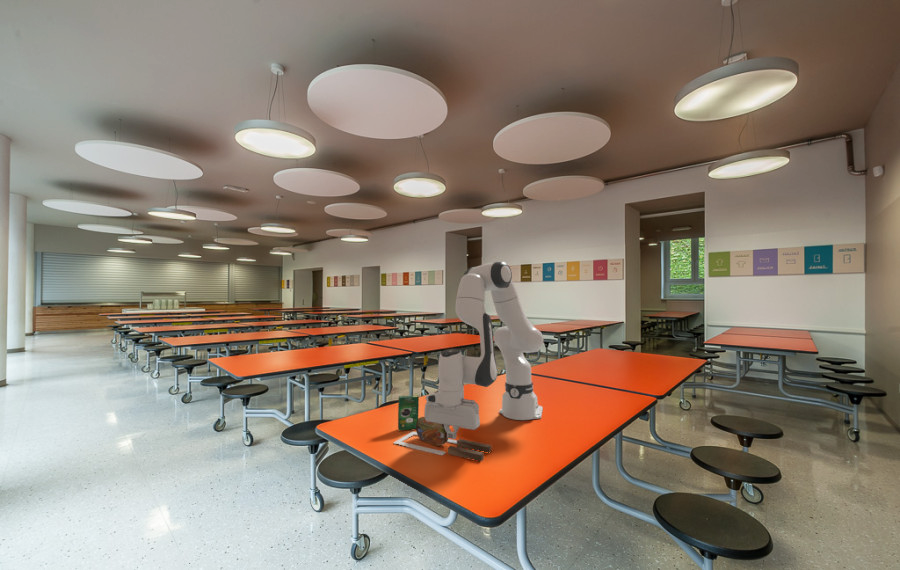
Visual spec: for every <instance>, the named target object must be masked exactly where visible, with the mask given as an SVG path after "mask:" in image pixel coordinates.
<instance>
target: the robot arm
mask: <svg viewBox="0 0 900 570" xmlns="http://www.w3.org/2000/svg"><path fill="white" fill-rule="evenodd" d="M512 276H513V275H512V269H511V267H510V266H509V265H508V264H507V263H506V262H505V261H494V262H489V263H482V264H480V265H478V266H473V267H469V268H468V269H467V270H465V272H464V273H463V276H462V277H461V279H460V282H459V285H458V288H457V293H456V294H457V295H456V299H455V314H456V316H457V318H458V319H459V320H460V321H461V322H463V323H465V324H467V325H469V326H471V327H473V328H475V329H476V330H477V331H478V333H479V341H480V356H478V357H477V356H468V355H463V354H462V351H461V350H460V349H458V348H449V349H445V350H443V351H441V352H440V353H439V358H438V363H437V364H438V366H437V377H438V381H439V384H438V390H437V391H434V392H431V393H429V394H428V395H426V396H425V400H426V401H425V402H426V403H425V404H424V416H423V417H425V420H426V421H427V422H433V423H438V424H444V429H445V431H446V432H447V438H448V439H451V440H456V439H457V432H458V431H459V429H460V428H461V429H465V430H466V429H467V430H472V431H475V430H476V429H478V428H479V427H480V424H481V421H480V420H481V419H480V414H479V413H480V406H479V404H478V402H476V400H474V399H467V398H465V388H464V384H469V385H476V386H479V387H480V386H481V387H485V388H488V387H489V386H491V385H493V383H494V382H496V381H497V377H498V367H497V362H496V355H495V353H496V352H495V345H496V346H497V347H498V349H499V351H500V352H501V355H502V358H503V361H504V367H505V382H504V383H505V384H504V391H505V392H504V393H503V394H502V398H501V400H502V402H501V408H500V409H499V410H498V413H499V414H502V415H503V417H505V418H507V419H510V420H516V421H529V420H535V419H536V420H538V419H542V416H543V409H544V408H543V406H542V405H539V404H538V396H537V394H535V392H534V381H532V366H531V363H530V362H529V361H528V360H527V358H526V357H525V355H524V353H526V354H529V353H537V352H539V351H540V350H541V349H542V348H543V346H544V336H543V333H542V332H541V331H540V330H539V329H538V328H536V326H535V325H533V324H532V323H531V321H530V320H529V318H528V317H527V316H526V314H525V312H524V310H523V308H522V304H521V301H520V298H519V295H518V291H517V289H516V286H515V284H514V281H513V280H512V278H513V277H512ZM488 291H490V294H491V299H492V303H493V306H494V308H495V311H496V312H495V313H496V315H497V318H498V319H499V321H500V322H502V323H503V324H504V326H501V327H498V328H497V329H496V330H495V331H494V332H493V330H494V329H493V323H492V319H491V316H490V315H489V314H488V313H487V312H486V309H485V299H486V297H485V296H486V293H485V292H488ZM450 427H452V429H453V431H451V430H452V429H451V428H450Z"/></svg>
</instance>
